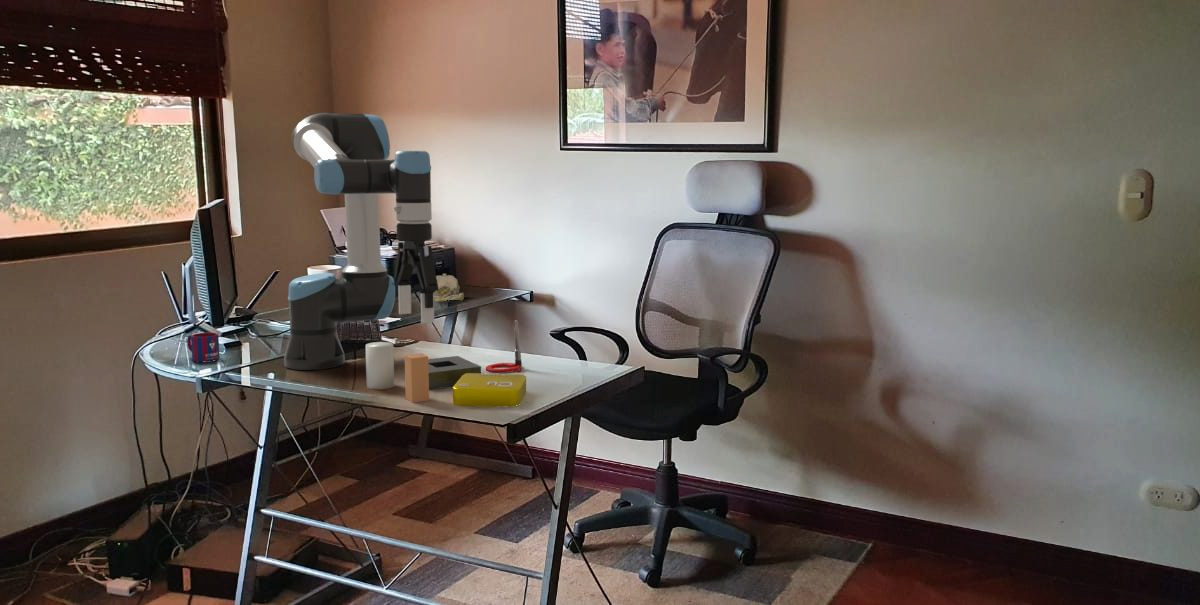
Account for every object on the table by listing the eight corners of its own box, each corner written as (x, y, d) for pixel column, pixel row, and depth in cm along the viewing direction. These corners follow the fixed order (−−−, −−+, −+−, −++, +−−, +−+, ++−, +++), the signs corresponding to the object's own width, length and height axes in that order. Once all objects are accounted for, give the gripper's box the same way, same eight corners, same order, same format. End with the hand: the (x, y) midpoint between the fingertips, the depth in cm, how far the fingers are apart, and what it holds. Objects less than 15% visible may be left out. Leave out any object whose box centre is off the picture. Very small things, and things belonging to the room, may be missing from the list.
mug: (201, 363, 241) (200, 338, 240) (180, 358, 247) (178, 333, 246) (224, 359, 247) (223, 334, 245) (203, 354, 252) (202, 330, 251)
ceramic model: (426, 301, 349) (425, 275, 347) (427, 297, 360) (427, 271, 358) (463, 301, 350) (463, 275, 349) (464, 297, 361) (463, 271, 360)
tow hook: (485, 375, 233) (521, 373, 234) (482, 325, 232) (519, 323, 232) (486, 368, 242) (521, 366, 242) (483, 319, 240) (519, 317, 241)
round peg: (363, 384, 221) (361, 343, 219) (389, 381, 224) (387, 341, 222) (371, 390, 215) (370, 348, 214) (398, 387, 219) (397, 345, 217)
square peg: (405, 398, 208) (404, 355, 207) (422, 396, 211) (421, 353, 209) (412, 402, 205) (411, 358, 204) (429, 400, 207) (428, 356, 206)
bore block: (405, 377, 228) (404, 361, 227) (457, 371, 235) (457, 355, 235) (426, 389, 216) (426, 373, 216) (481, 382, 224) (481, 366, 223)
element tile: (527, 391, 217) (527, 372, 216) (518, 409, 202) (518, 387, 202) (464, 390, 218) (463, 370, 217) (451, 407, 203) (450, 386, 202)
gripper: (378, 219, 210) (380, 311, 213) (418, 226, 189) (421, 328, 193) (409, 218, 214) (411, 309, 217) (452, 225, 193) (454, 325, 197)
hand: (416, 318), depth 205 cm, fingers open, 13 cm apart
